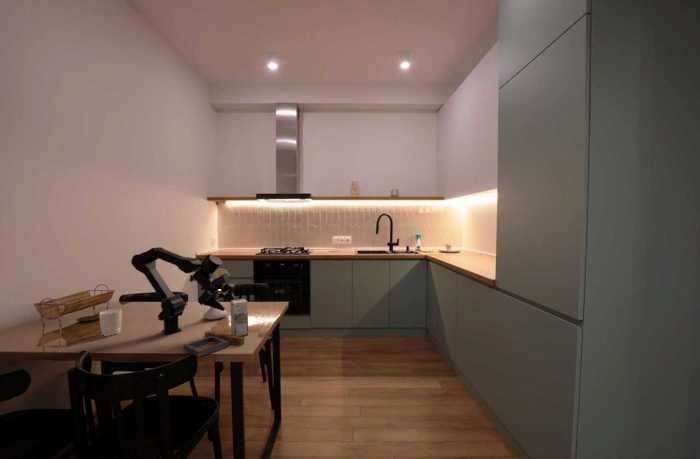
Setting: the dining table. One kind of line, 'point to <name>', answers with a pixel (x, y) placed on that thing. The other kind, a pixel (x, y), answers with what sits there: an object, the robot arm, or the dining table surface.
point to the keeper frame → (219, 344)
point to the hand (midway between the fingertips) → (230, 307)
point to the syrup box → (239, 317)
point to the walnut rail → (226, 337)
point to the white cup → (111, 321)
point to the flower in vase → (213, 312)
